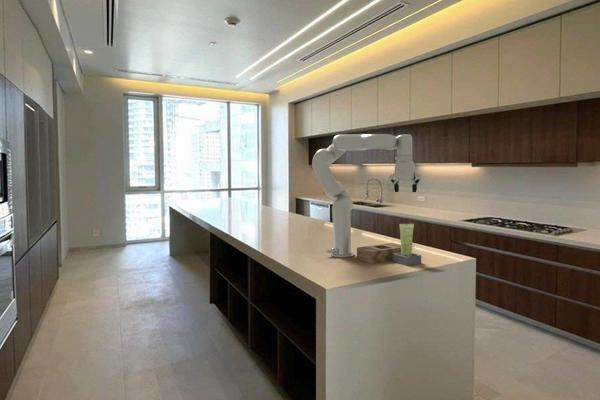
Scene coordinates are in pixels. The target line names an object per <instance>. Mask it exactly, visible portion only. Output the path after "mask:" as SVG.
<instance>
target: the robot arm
mask: <svg viewBox="0 0 600 400" xmlns="http://www.w3.org/2000/svg"><path fill="white" fill-rule="evenodd" d="M367 150H388V151H393V150H397V151H396V153H397V156H395V157H394V160H395V161H396V162H395V163H394V164H395V165H394V171H393V172H394V173H393V174H391V175H390V176H389V179H390V182H391V183H392V184H393V189H394V193H400V192H399V191H400V187H399V186H400V185H399V182H411V183H412V185H411V187H412V189H411V190H412V193H417V192H418V191H417V190H418V183H420V181H421V179H422V177H423V176H422V175H421V174H419V173H418V172H416V166H415V161H413V136H412V135H411V134H408V133H407V134H405V133H404V134H399V135H393V134H391V133H390V134H389V133H388V134H387V133H380V134H379V133H376V134H375V133H374V134H372V133H371V134H365V133H360V134H356V133H355V134H354V133H351V134H347V133H345V134H344V133H341V134H337V135H335V136H334V137H333V139H332V144H330V145H329V146H328V147H327V148H320V149H318V150H317V151H316V152H315V154H314V155H313V158H312V161H311V168H312V170H313V173H314V175H315V177H316V179H317V180H318V183H319V184H320V186H321V188H322V189H323V193H324V194H325V195H326V196H327V197H328V198H331V199H332V201H333V204H332V207H331V211H332V212H331V213H332V221H333V222H332V223H333V226H332V227H333V246H332V247H331V249H329V248H328V249H326V250H325V253H326V254H330V256H332V257H333V258H351V257H354V255H355V253H354V252H353V251H352V228H351V226H352V222H351V221H352V220H351V211H352V210H353V208H354V202H353V200H352V198H351V196H350V194H349V192H348V191H347V189H346V187H345V186H344V184H343V183H342V181H339V180H336V177H335V176H334V174H333V172H332V171H331V170H330V168H329V165H331V164H333V163H335V161H337V160H338V159H339V158H340V157H341V156H343V155H344V154H345V153H346V151H367Z"/></svg>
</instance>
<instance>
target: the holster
mask: <svg viewBox="0 0 600 400" xmlns="http://www.w3.org/2000/svg"><path fill="white" fill-rule="evenodd" d="M392 258H393V260H392V262H393V263H397V264H399V265H403V266H405V267H407V266H413V265H418V264H419V265H420V264H422V254H418V253H414V252H412V256H409V257H406V256H402V255H401V252H400V253H393V254H392Z"/></svg>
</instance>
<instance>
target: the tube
mask: <svg viewBox="0 0 600 400" xmlns="http://www.w3.org/2000/svg"><path fill="white" fill-rule="evenodd" d="M414 227H415V223H399V234H400V235H399V236H400V245H401V255H402V256H406V257H409V256H412V253H413V251H412V250H413V238H414V237H413V236H414V235H413V234H414Z"/></svg>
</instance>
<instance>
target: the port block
mask: <svg viewBox="0 0 600 400" xmlns="http://www.w3.org/2000/svg"><path fill="white" fill-rule="evenodd" d="M400 252H401V243H400V244H399V243H395V242H390V243H389V242H388V243H382V244H375V245H374V244H373V245H366V246H357V247H356V259H357V260H360V261H361V262H365V263H367V264H378V263H382V262H390V261H393V258H392V254H393V253H400Z"/></svg>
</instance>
